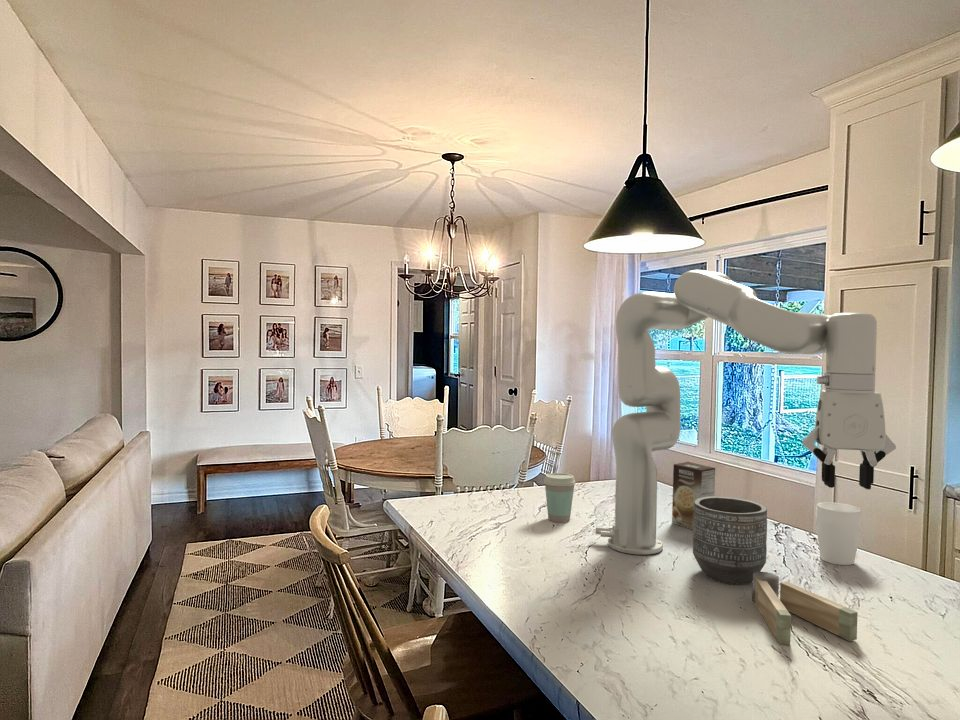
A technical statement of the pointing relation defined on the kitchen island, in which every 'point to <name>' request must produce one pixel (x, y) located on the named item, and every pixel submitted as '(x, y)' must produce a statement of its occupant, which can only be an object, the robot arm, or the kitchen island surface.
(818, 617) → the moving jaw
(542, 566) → the kitchen island surface
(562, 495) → the coffee cup
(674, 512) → the coffee box
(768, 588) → the tongs base
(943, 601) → the kitchen island surface
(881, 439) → the robot arm
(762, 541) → the planter
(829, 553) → the cup
